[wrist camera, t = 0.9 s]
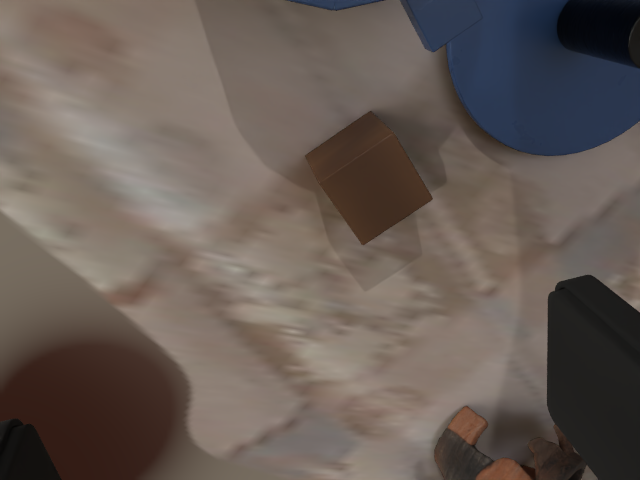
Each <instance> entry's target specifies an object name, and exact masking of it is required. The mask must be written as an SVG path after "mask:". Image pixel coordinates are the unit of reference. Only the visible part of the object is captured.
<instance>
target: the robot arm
mask: <svg viewBox="0 0 640 480" xmlns="http://www.w3.org/2000/svg"><path fill="white" fill-rule="evenodd" d="M547 406H548V410H549V413H550V415H551V417H552V419H553V421H554V422H555V424H556V425H557V427H558V428H559V429H560V430H561V432H562V433H563V434H564V436H565V437H566V438H567V439H568V441H569V442H570V443H571V445H572V446H573V447H574V448H575V450H576V451H577V452H578V454H579V455H580V456H581V457H582V459H583V460H584V461H585V463H586V464H587V465H588V466H589V468H590V469H591V470H592V472H593V473H594V474H595V475H596V477H597V478H598V479H599V480H640V313H639V312H638V311H637V310H636V309H634V308H633V307H632V306H631V305H629V304H628V303H627V302H626V301H624V300H623V299H622V298H620V297H619V296H618V295H617V294H615V293H614V292H613V291H612V290H610V289H609V288H608V287H607V286H605V285H604V284H603V283H602V282H600V281H599V280H598V279H596V278H595V277H593V276H592V275H584V276H580V277H576V278H572V279H568V280H564V281H560V282H559V283H557V285H556V287H555V291H553V292H551V293H550V294H549V296H548V352H547ZM0 480H61V478H60V476H59V474H58V472H57V470H56V468H55V466H54V464H53V462H52V461H51V458H50V456H49V455H48V453H47V451H46V449H45V447H44V445H43V443H42V441H41V439H40V437H39V435H38V433H37V431H36V429H35V428H34V426H33V425H31V424H26V425H23V423H22V422H21V421H20V420H19V419H10V420H6V421H3V422H0Z"/></svg>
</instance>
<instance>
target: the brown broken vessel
mask: <svg viewBox="0 0 640 480" xmlns="http://www.w3.org/2000/svg"><path fill="white" fill-rule="evenodd" d="M487 426H488V423H487V421H486V420H485V419H484V418H483V417H481V416H479V415H477V414H476V413H475V412H474V411H473V410H471V409H470V408H469V407H468V406H465V407H464V408H463V409H462V410H461V411H460V412H458V414H457V415H456V416H455V417H454V418H453V420H452V421H451V423H450V424H449V426H448V428H447V429H446V430H445V431H444V433H443V435H442V437H441V438H439V441H438V444H437V445H436V449H435V461H436V463H437V464H438V466H439V468H440V470H441V472H442V475H443V477H444V478H445V480H581V478H582V475H583V473H584V469H585V467H586V465H587V464H586V463H585V461H584V460H583V459H582V457H581V456H580V455H578V454H577V453H575V452H574V450H573V447H572V445H571V443H570V442H569V441H568V439H567V438H566V437H565V436H564V434H563V433H562V432H561V430H560V429H559V428H558V427H557V425H556V424H555V425H554V429H555V431H556V434H557V436H558V440H559V446H560V447H559V446H558V445H556V444H555V443H552V442H547V441H546V440H544V439H543V438H536V439H533V440H530V441H529V442H528V447H529V449H530V450H531V451H532V453H533V454H534V461H535V468H531V467H527V466H520V465H519V464H518V462H516V461H515V460H511V459H509V458H501V459H498V460H496V461H493V460H492V459H491V458H490V457H488V456H486V455H484V454H483V453H481V452H479V451H478V450H477V449H476V447H475V444H476V442H477V439H478V438H479V437H480V435H481V434H482V432H483V431H484V430H485V429H486V428H487Z"/></svg>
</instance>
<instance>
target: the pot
mask: <svg viewBox="0 0 640 480" xmlns="http://www.w3.org/2000/svg"><path fill="white" fill-rule="evenodd" d="M287 1H291V2H296V3H300V4H305V5H309V6H314V7H318V8H323V9H327V10H335V11H337V10H342V9H346V8H351V7H356V6H361V5H365V4H370V3H375V2H379V1H384V0H287ZM400 2H401V4H402V5H403V7H404V9H405V11H406V13H407V15H408V17H409V19H410V21H411V23H412V25H413V27H414V28H415V30H416V32H417V34H418V36H419V38H420V40H421V42H422V44H423V46H424V48H425V49H427V50H429V51H431V52H435V51H436V50H438V49H439V48H441V47H442V46H444V45H445V44H446V43H448V42H449V41H451V40H452V39H454V38H455V37H457V36H458V35H460V34H461V33H462V32H464V31H465V30H467V29H468V28H470V27H471V26H473V25H474V24H475V23H477V22H478V21H480V20H481V19H482V18H483V16H482V14H481V12H480V10H479V8H478V5H477V3H476V1H475V0H400Z"/></svg>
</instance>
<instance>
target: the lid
mask: <svg viewBox="0 0 640 480" xmlns="http://www.w3.org/2000/svg"><path fill="white" fill-rule="evenodd" d="M475 1H476V3H477V5H478V8H479V10H480V12H481V14H482V16H483V18H482V19H481V20H480V21H478V22H477V23H475V24H474V25H473V26H471V27H470V28H468V29H467V30H465V31H464V32H462V33H461V34H460V35H458V36H457V37H455V38H454V39H452V40H451V41H449V42H448V43H446V50H447V58H448V65H449V70H450V74H451V77H452V81H453V85H454V87H455V90H456V92H457V94H458V97H459V99H460V101H461V103H462V104H463V106H464V107H465V109H466V111H467V112H468V114H469V115H470V116H471V118H472V119H473V120H474V121H475V122H476V123H477V125H478V126H479V127H481V128H482V129H483V130H484V131H485V132H486V133H487V134H489V135H490V136H491V137H493V138H495V139H496V140H498V141H499V142H501V143H503V144H504V145H506V146H508V147H511V148H513V149H516V150H518V151H521V152H525V153H529V154H534V155H544V156H556V155H567V154H573V153H578V152H582V151H585V150H588V149H592V148H594V147H597V146H599V145H601V144H604V143H606V142H608V141H610V140H612V139H614V138H615V137H617V136H619V135H620V134H622V133H624V132H625V131H627V130H628V129H629V128H631V127H632V126H634V125H635V124H636V123H638V122H639V121H640V0H475Z"/></svg>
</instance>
